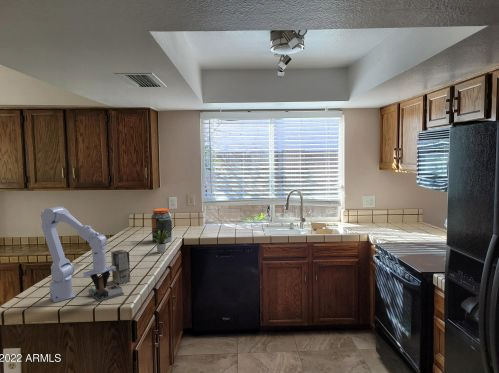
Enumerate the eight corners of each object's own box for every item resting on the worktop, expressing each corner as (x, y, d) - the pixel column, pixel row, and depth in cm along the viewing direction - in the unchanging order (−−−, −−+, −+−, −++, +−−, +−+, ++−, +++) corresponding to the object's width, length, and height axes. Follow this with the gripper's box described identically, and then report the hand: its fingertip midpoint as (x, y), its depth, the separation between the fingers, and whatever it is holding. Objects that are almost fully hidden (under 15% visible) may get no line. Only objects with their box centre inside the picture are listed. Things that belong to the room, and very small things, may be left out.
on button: (94, 292, 177) (94, 289, 177) (91, 290, 180) (91, 287, 180) (103, 290, 180) (102, 286, 180) (99, 288, 183) (99, 285, 183)
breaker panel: (99, 301, 171) (99, 294, 171) (89, 294, 180) (88, 287, 180) (124, 294, 179) (123, 287, 179) (112, 287, 189) (112, 281, 188)
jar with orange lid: (174, 239, 301) (173, 207, 299) (168, 243, 286) (167, 210, 284) (156, 238, 303) (155, 207, 301) (149, 243, 287) (148, 210, 285)
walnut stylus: (99, 294, 172) (98, 278, 172) (97, 292, 174) (96, 277, 174) (105, 292, 174) (104, 277, 174) (102, 290, 176) (102, 275, 176)
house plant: (166, 255, 250) (165, 232, 249) (147, 254, 253) (146, 231, 252) (174, 250, 264) (173, 228, 263) (156, 249, 267) (156, 227, 266)
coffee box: (130, 281, 199) (129, 252, 197) (119, 284, 194) (118, 254, 193) (123, 277, 205) (122, 249, 204) (112, 280, 201) (110, 251, 199)
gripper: (86, 265, 165) (88, 294, 166) (117, 258, 175) (119, 286, 176) (81, 262, 170) (82, 290, 171) (111, 256, 180) (112, 283, 181)
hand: (100, 288), depth 174 cm, fingers closed on walnut stylus, 3 cm apart
